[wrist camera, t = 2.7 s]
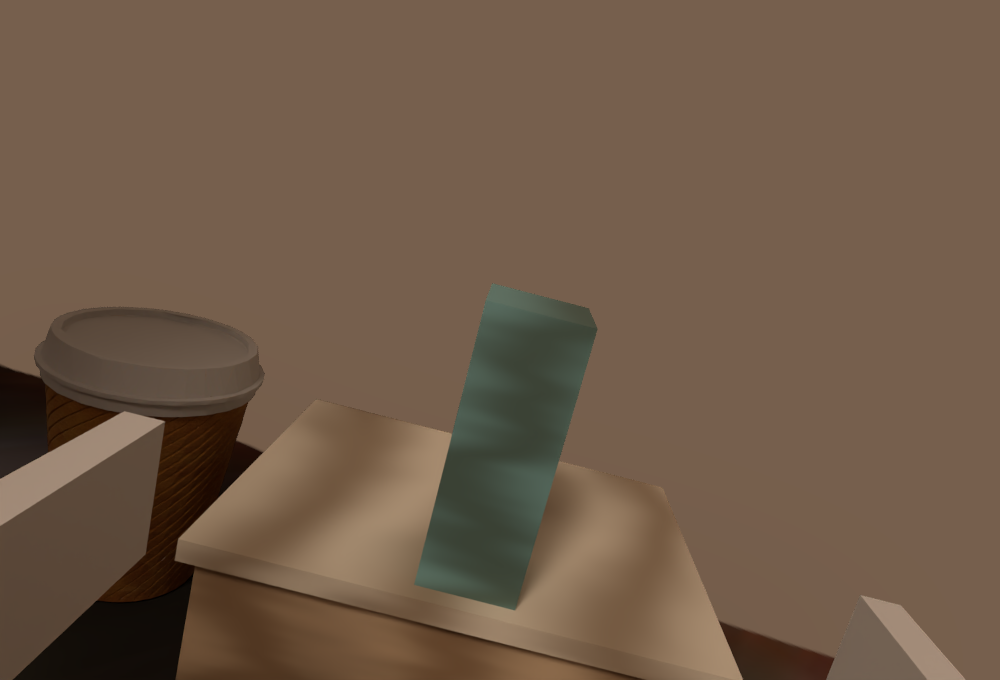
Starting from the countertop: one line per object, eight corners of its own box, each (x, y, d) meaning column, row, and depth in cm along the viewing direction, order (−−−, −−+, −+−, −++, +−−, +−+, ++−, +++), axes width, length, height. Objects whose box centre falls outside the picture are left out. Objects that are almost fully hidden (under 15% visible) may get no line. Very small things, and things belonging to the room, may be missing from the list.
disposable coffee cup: (267, 561, 38) (309, 352, 35) (115, 658, 29) (155, 389, 27) (135, 495, 41) (164, 297, 38) (-39, 565, 32) (-18, 314, 29)
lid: (174, 560, 23) (227, 237, 21) (313, 412, 38) (353, 213, 35) (735, 702, 23) (853, 399, 21) (657, 500, 38) (721, 308, 36)
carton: (162, 758, 26) (195, 564, 24) (291, 556, 39) (318, 423, 37) (645, 878, 26) (714, 695, 24) (606, 636, 39) (648, 507, 38)
